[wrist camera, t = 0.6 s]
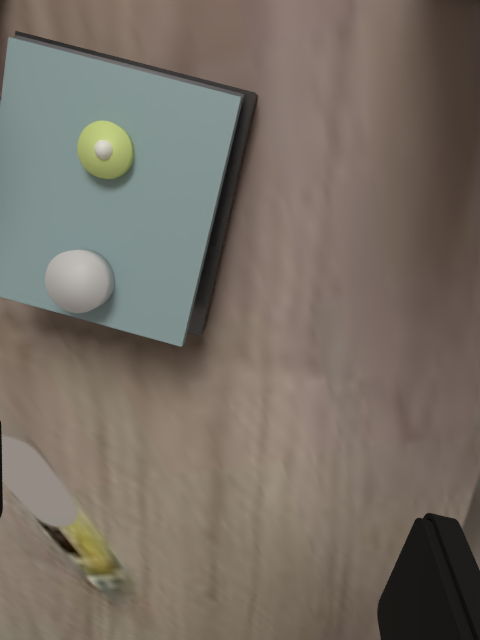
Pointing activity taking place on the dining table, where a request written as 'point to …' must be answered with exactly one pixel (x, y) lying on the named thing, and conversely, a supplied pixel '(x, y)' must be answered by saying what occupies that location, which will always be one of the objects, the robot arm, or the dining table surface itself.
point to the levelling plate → (108, 187)
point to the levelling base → (227, 189)
